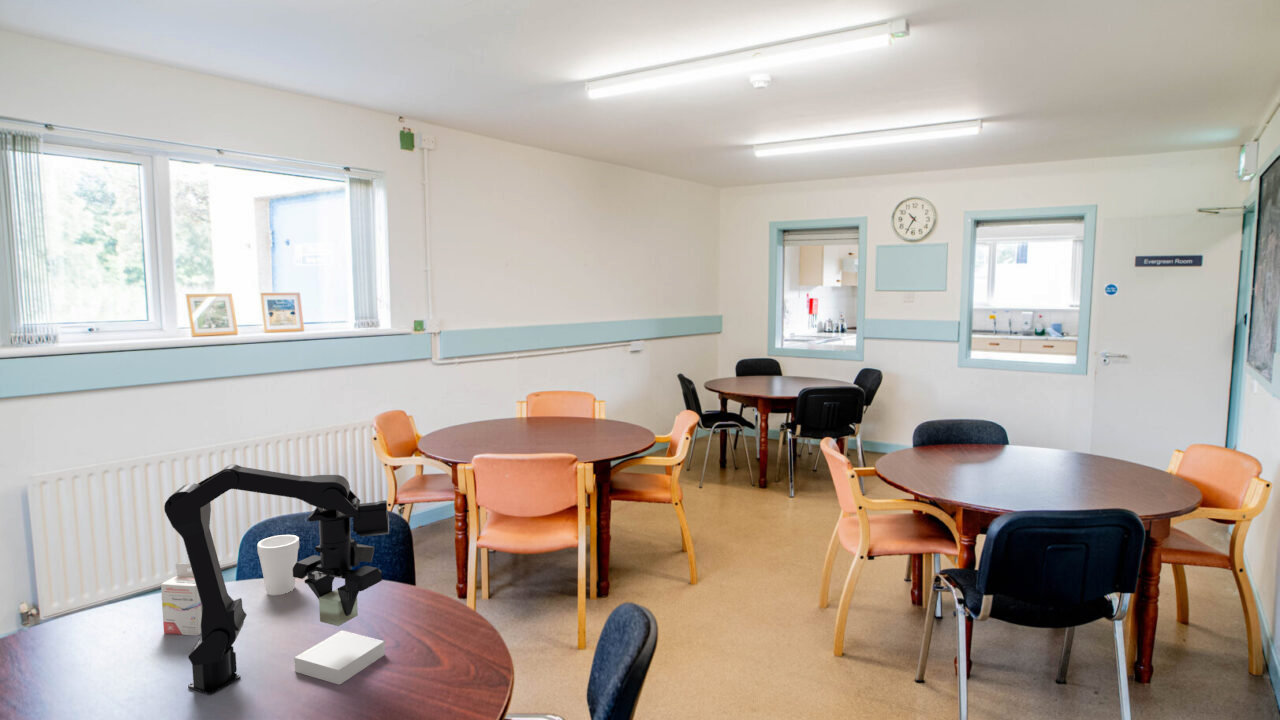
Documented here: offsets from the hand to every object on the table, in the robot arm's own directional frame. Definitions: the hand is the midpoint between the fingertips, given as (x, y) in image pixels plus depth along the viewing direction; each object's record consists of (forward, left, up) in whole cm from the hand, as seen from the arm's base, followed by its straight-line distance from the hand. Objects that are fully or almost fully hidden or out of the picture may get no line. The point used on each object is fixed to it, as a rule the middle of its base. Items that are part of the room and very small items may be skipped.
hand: (338, 612), depth 137 cm
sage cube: (0, 0, -1) cm, 1 cm away
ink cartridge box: (-3, +43, -11) cm, 44 cm away
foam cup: (+20, +42, -11) cm, 48 cm away
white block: (0, 0, -11) cm, 11 cm away
